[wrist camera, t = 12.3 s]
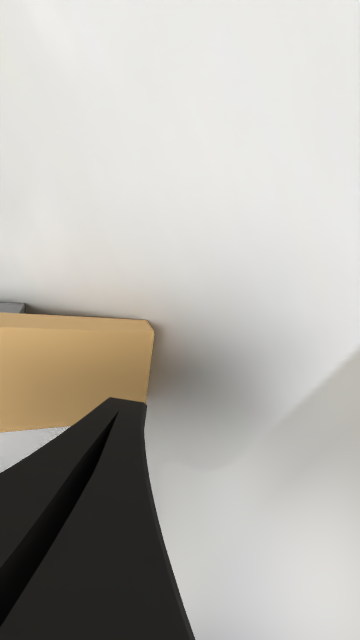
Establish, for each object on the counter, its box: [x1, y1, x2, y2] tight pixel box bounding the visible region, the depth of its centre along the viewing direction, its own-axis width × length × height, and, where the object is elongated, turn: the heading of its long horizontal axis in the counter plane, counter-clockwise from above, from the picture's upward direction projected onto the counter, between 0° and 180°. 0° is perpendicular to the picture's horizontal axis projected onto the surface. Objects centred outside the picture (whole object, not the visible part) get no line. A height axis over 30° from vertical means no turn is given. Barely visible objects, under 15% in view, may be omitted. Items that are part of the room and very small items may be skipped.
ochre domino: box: [0, 312, 155, 432], centre depth 11 cm, size 5×2×9 cm
